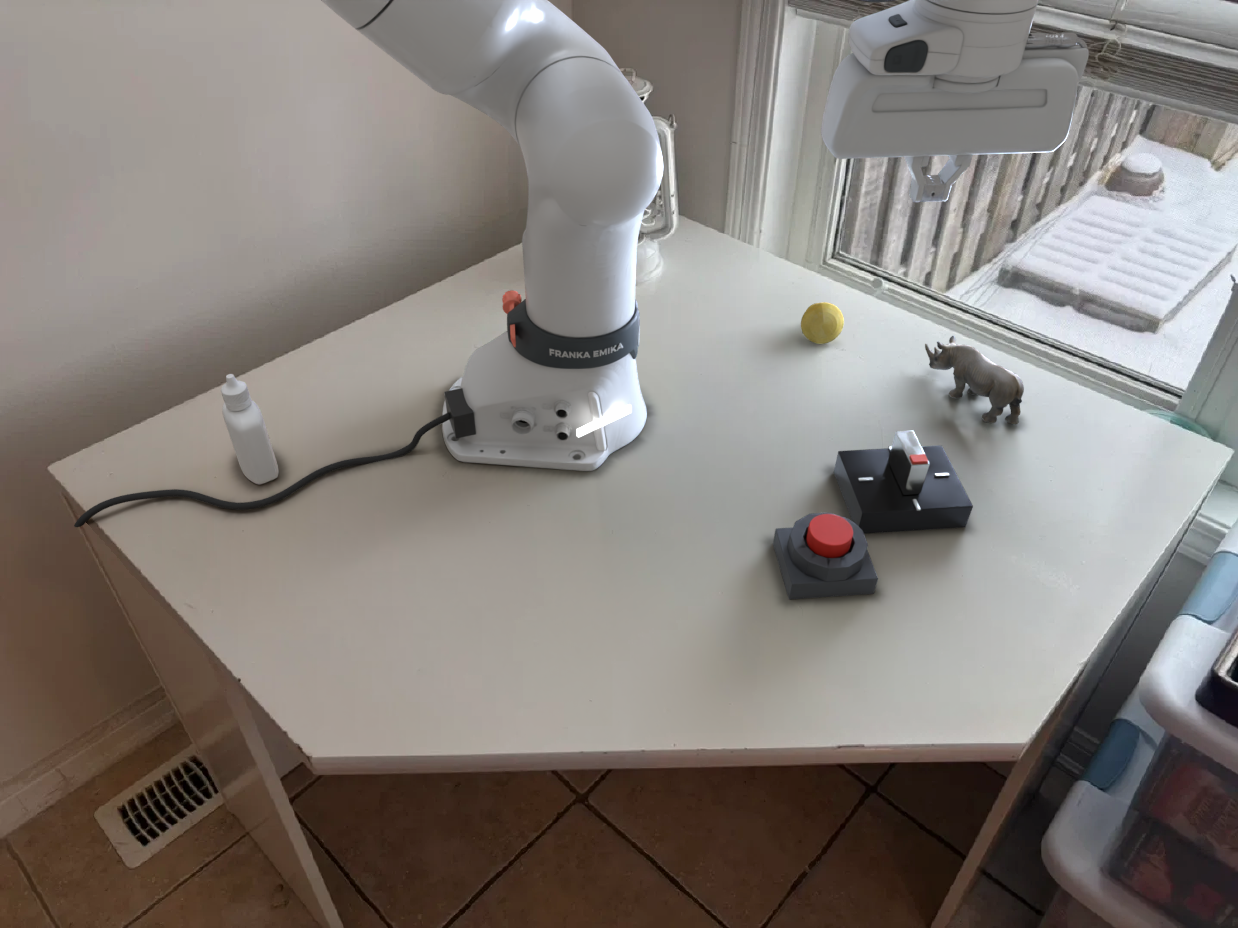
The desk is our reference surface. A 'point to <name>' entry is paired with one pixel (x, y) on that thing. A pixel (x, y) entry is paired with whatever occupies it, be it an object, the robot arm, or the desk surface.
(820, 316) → the knob
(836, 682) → the desk surface
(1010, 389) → the rhino figurine
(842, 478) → the hob panel
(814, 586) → the igniter
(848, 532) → the button
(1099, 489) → the desk surface
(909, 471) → the knob
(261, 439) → the eye dropper bottle
